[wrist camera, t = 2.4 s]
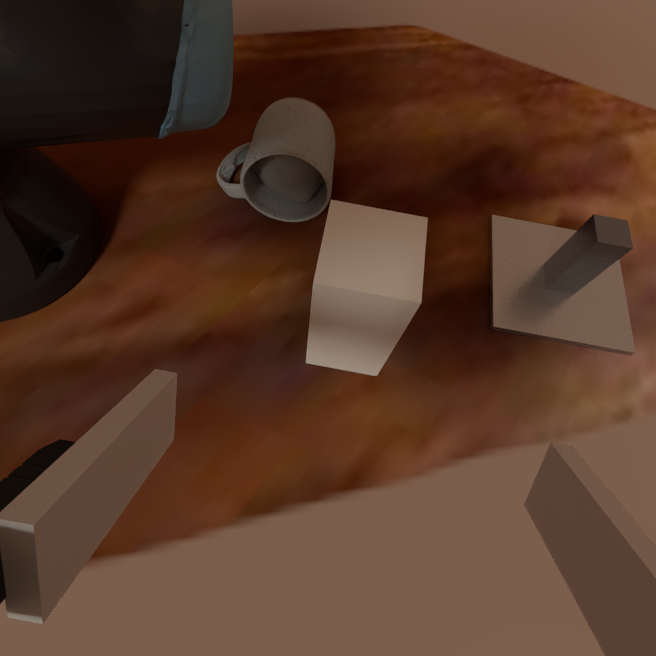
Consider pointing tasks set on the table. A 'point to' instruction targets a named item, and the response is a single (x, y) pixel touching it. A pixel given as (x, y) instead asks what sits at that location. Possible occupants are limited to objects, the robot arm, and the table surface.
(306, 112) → the ceramic mug
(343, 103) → the table surface
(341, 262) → the beige square prism
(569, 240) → the square base plate
